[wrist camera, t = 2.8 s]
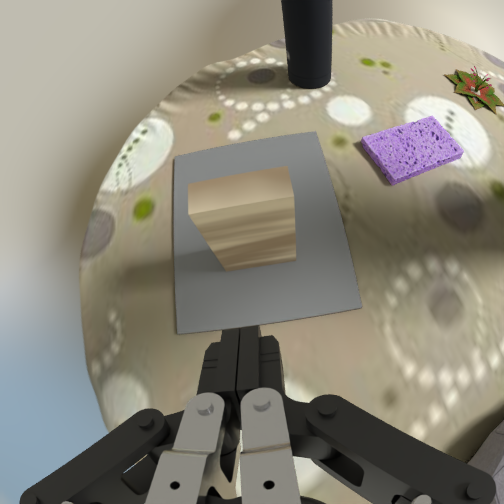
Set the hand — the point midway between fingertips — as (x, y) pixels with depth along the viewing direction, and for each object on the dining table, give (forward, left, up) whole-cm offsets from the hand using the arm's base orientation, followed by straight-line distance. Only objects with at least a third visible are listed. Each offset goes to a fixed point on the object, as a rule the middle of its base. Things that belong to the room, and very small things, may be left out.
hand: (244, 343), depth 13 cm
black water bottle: (-36, -16, -17) cm, 43 cm away
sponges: (-30, +2, -17) cm, 35 cm away
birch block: (-8, -7, -16) cm, 19 cm away
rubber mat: (-11, -9, -17) cm, 22 cm away
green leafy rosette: (-52, +9, -17) cm, 56 cm away
